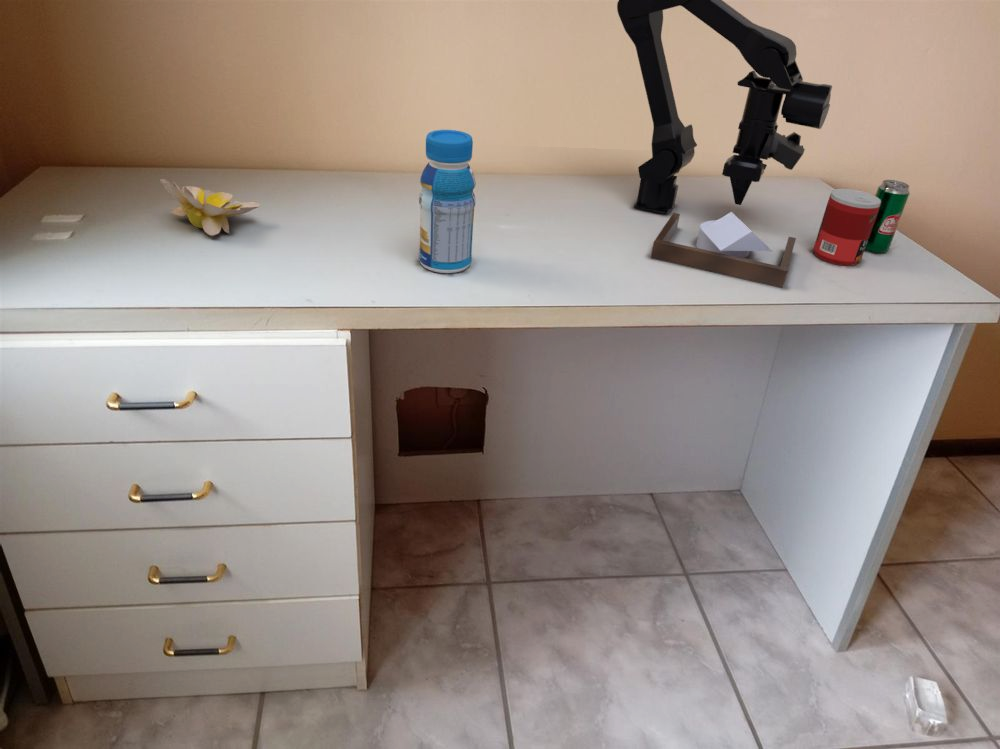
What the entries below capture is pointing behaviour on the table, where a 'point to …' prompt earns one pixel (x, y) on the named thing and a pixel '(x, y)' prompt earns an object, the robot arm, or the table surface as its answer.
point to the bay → (719, 258)
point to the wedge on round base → (729, 237)
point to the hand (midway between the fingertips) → (738, 204)
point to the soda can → (887, 214)
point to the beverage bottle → (447, 202)
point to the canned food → (846, 226)
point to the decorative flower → (206, 207)
